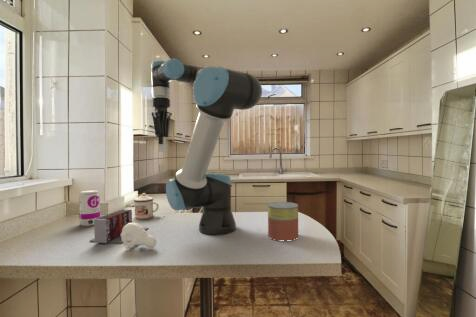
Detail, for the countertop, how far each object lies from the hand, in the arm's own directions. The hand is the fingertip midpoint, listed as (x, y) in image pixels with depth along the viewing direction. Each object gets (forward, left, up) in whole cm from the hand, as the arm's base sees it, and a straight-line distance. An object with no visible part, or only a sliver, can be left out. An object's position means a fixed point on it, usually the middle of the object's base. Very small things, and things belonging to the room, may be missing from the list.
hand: (162, 151), depth 119 cm
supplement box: (+10, +28, -28) cm, 41 cm away
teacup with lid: (+15, -11, -33) cm, 38 cm away
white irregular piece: (-6, +29, -33) cm, 44 cm away
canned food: (-53, +9, -33) cm, 63 cm away
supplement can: (+34, +5, -33) cm, 47 cm away
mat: (+10, +17, -32) cm, 38 cm away
